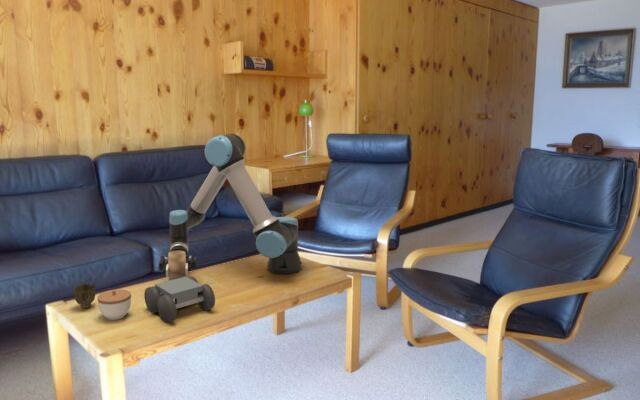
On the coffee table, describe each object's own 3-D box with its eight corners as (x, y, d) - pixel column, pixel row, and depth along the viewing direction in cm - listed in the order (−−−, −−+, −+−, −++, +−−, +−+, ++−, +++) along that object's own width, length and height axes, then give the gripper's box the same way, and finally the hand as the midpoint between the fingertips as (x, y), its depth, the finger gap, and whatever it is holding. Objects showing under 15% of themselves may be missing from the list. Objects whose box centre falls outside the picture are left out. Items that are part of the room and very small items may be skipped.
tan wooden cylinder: (181, 283, 207) (180, 249, 204) (189, 288, 202) (188, 253, 199) (166, 287, 202) (164, 252, 199) (174, 292, 198) (173, 256, 195)
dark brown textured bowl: (101, 305, 191) (100, 284, 189) (87, 313, 184) (85, 291, 182) (84, 302, 193) (83, 281, 191) (69, 310, 186) (67, 288, 184)
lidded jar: (95, 314, 183) (93, 289, 181) (126, 307, 189) (124, 282, 187) (104, 325, 174) (102, 299, 172) (136, 317, 181) (134, 292, 179)
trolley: (188, 296, 200) (187, 272, 198) (215, 311, 186) (214, 286, 184) (145, 308, 188) (143, 283, 186) (170, 326, 175) (169, 299, 173)
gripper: (202, 261, 221) (203, 280, 199) (154, 263, 216) (150, 283, 194) (202, 243, 219) (203, 261, 197) (153, 246, 215) (149, 264, 193)
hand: (176, 272), depth 196 cm, fingers closed on tan wooden cylinder, 6 cm apart
